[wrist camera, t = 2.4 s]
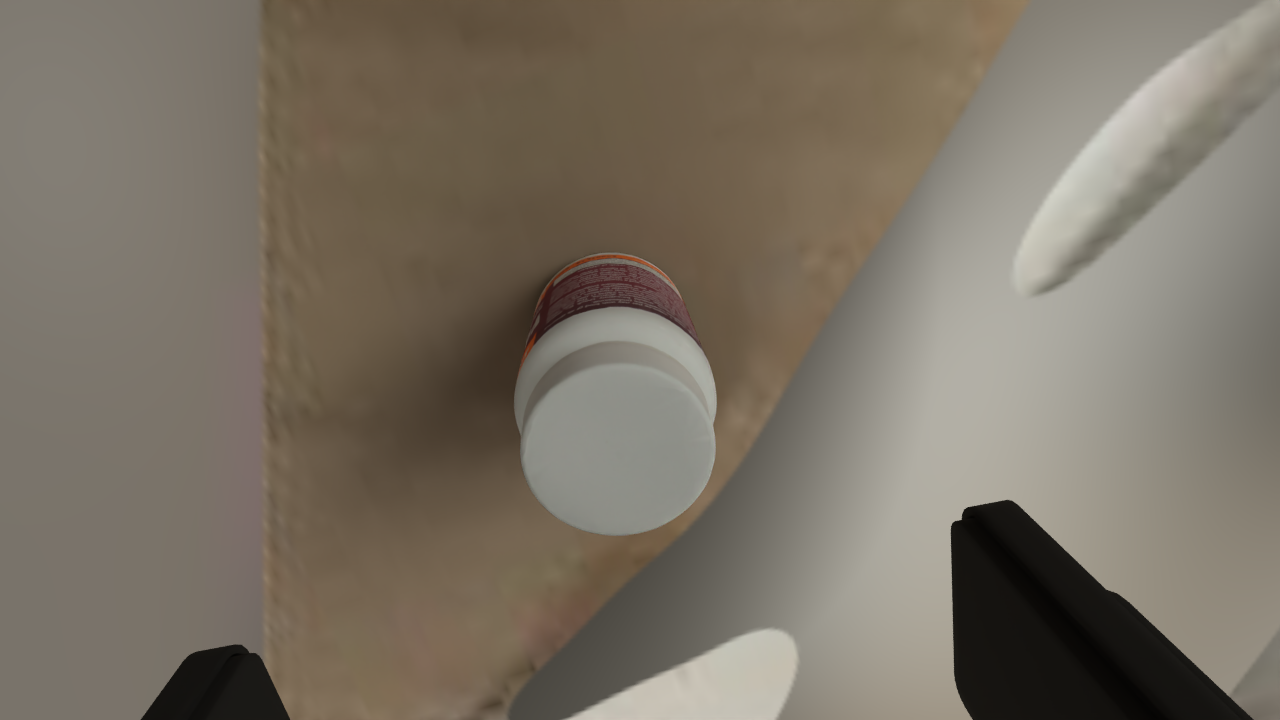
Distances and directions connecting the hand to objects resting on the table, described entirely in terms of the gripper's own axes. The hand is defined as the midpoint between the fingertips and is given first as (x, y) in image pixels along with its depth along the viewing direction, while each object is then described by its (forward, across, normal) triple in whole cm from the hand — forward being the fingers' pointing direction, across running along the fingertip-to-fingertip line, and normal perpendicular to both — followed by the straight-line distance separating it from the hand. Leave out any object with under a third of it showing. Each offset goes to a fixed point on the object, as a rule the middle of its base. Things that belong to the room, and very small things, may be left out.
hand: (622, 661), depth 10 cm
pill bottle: (+14, 0, 0) cm, 14 cm away
